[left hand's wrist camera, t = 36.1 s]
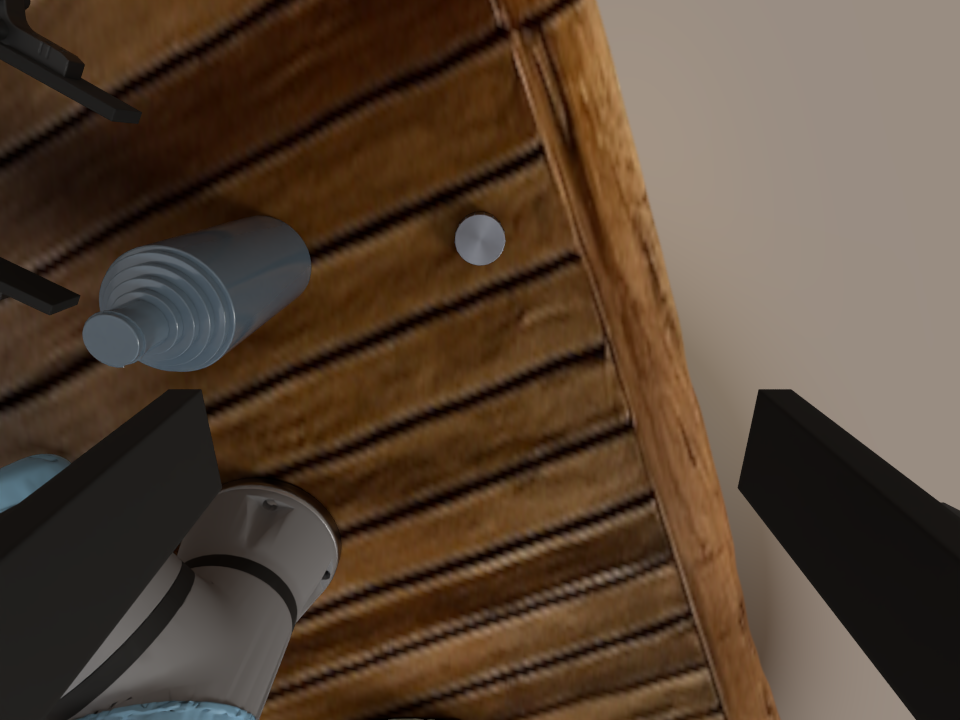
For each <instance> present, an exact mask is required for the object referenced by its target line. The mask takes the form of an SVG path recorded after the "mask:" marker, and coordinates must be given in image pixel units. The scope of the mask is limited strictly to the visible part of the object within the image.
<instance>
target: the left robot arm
mask: <svg viewBox="0 0 960 720" xmlns="http://www.w3.org/2000/svg"><path fill="white" fill-rule="evenodd" d="M738 489H739V490H740V492H741V493H742V494H743V495H744V497H745V498H746V499H747V501H748V502H749V503H750V505H751V506H752V507H753V508H754V510H755V511H756V512H757V514H758V515H759V516H760V518H761V519H762V520H763V521H764V523H765V524H766V525H767V527H768V528H769V529H770V531H771V532H772V533H773V535H774V536H775V537H776V538H777V540H778V541H779V542H780V544H781V545H782V546H783V547H784V549H785V550H786V551H787V553H788V554H789V555H790V557H791V558H792V559H793V560H794V562H795V563H796V564H797V566H798V567H799V568H800V570H801V571H802V572H803V573H804V575H805V576H806V577H807V579H808V580H809V581H810V582H811V584H812V585H813V586H814V588H815V589H816V590H817V592H818V593H819V594H820V596H821V597H822V598H823V599H824V601H825V602H826V603H827V605H828V606H829V607H830V608H831V610H832V611H833V612H834V614H835V615H836V616H837V618H838V619H839V620H840V622H841V623H842V624H843V625H844V627H845V628H846V629H847V631H848V632H849V633H850V635H851V636H852V637H853V638H854V640H855V641H856V642H857V644H858V645H859V646H860V648H861V649H862V650H863V651H864V653H865V654H866V655H867V657H868V658H869V659H870V660H871V662H872V663H873V664H874V666H875V667H876V668H877V670H878V671H879V672H880V673H881V675H882V676H883V677H884V679H885V680H886V681H887V683H888V684H889V685H890V686H891V688H892V689H893V690H894V692H895V693H896V694H897V695H898V697H899V698H900V699H901V701H902V702H903V703H904V705H905V706H906V707H907V709H908V710H909V711H910V712H911V714H912V715H913V716H914V718H915V719H916V720H960V510H958V509H956V508H954V507H952V506H950V505H948V504H946V503H940V502H939V501H938V500H936V499H935V498H934V497H932V496H931V495H930V494H928V493H927V492H926V491H924V490H923V489H922V488H920V487H919V486H918V485H916V484H915V483H914V482H912V481H911V480H910V479H909V478H907V477H906V476H905V475H903V474H902V473H901V472H899V471H898V470H897V469H895V468H894V467H893V466H891V465H890V464H889V463H887V462H886V461H885V460H883V459H882V458H881V457H879V456H878V455H877V454H876V453H874V452H873V451H872V450H870V449H869V448H868V447H866V446H865V445H864V444H862V443H861V442H860V441H858V440H857V439H856V438H854V437H853V436H852V435H851V434H849V433H848V432H847V431H845V430H844V429H843V428H841V427H840V426H839V425H837V424H836V423H835V422H833V421H832V420H831V419H829V418H828V417H827V416H825V415H824V414H823V413H822V412H820V411H819V410H818V409H816V408H815V407H814V406H812V405H811V404H810V403H808V402H807V401H806V400H804V399H803V398H802V397H800V396H799V395H798V394H797V393H795V392H794V391H793V390H791V389H759V390H758V395H757V400H756V404H755V409H754V414H753V419H752V423H751V428H750V433H749V438H748V442H747V447H746V451H745V456H744V461H743V466H742V470H741V475H740V480H739V484H738ZM181 541H182V542H181ZM180 542H181V545H180V548H179V551H178V555H177V556H176V555H175V554H174V553H173V551H174V550H175V549H176V547H177V546H178V545H179V544H180ZM340 555H341V537H340V533H339V530H338V527H337V525H336V523H335V521H334V519H333V518H332V516H331V514H330V513H329V512H328V511H327V509H326V508H325V507H324V506H323V505H322V504H321V503H320V502H319V501H318V500H316V499H315V498H314V497H313V496H311V495H310V494H308V493H307V492H305V491H303V490H301V489H299V488H297V487H295V486H293V485H290V484H288V483H285V482H281V481H277V480H272V479H266V478H246V479H240V480H235V481H231V482H228V483H226V484H223V485H222V484H221V480H220V475H219V470H218V466H217V461H216V456H215V451H214V447H213V442H212V437H211V433H210V428H209V423H208V419H207V414H206V409H205V404H204V400H203V395H202V390H201V389H169V390H167V391H166V392H165V393H163V394H162V395H161V396H160V397H158V398H157V399H156V400H154V401H153V402H152V403H150V404H149V405H148V406H146V407H145V408H144V409H142V410H141V411H140V412H138V413H137V414H136V415H134V416H133V417H132V418H131V419H129V420H128V421H127V422H125V423H124V424H123V425H121V426H120V427H119V428H117V429H116V430H115V431H113V432H112V433H111V434H109V435H108V436H107V437H106V438H104V439H103V440H102V441H100V442H99V443H98V444H96V445H95V446H94V447H92V448H91V449H90V450H88V451H87V452H86V453H84V454H83V455H82V456H80V457H79V458H78V459H77V460H75V461H74V462H73V463H71V462H69V461H68V460H67V459H65V458H63V457H61V456H58V455H54V454H38V455H33V456H29V457H26V458H23V459H21V460H18V461H16V462H14V463H11V464H9V465H7V466H5V467H2V468H0V720H259V718H260V715H261V712H262V710H263V707H264V705H265V702H266V699H267V697H268V694H269V692H270V689H271V686H272V684H273V681H274V679H275V676H276V673H277V671H278V668H279V666H280V663H281V660H282V658H283V655H284V653H285V650H286V647H287V645H288V642H289V640H290V637H291V634H292V631H293V629H294V626H295V624H296V622H297V621H298V620H299V619H300V617H301V616H302V615H303V614H304V613H305V612H306V611H307V609H308V608H309V607H310V606H311V605H312V604H313V603H314V602H315V600H316V599H317V598H318V597H319V596H320V595H321V594H322V592H323V591H324V590H325V589H326V587H327V586H328V585H329V583H330V582H331V580H332V578H333V576H334V574H335V571H336V568H337V565H338V562H339V560H340Z"/></svg>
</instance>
